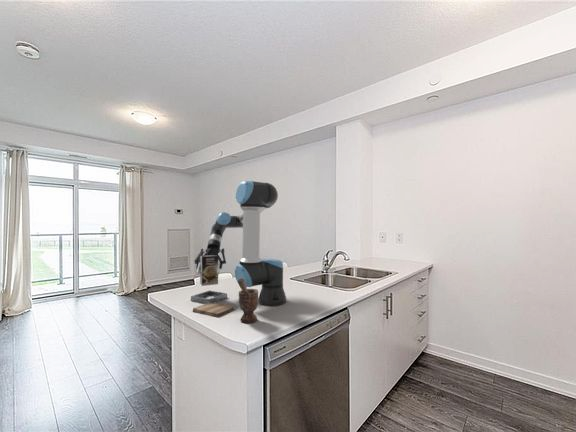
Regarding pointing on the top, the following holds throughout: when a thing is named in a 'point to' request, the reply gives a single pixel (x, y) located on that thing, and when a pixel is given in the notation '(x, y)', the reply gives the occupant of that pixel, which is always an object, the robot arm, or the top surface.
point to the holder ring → (213, 293)
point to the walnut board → (213, 309)
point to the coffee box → (208, 270)
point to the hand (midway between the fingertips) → (207, 273)
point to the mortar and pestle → (247, 302)
